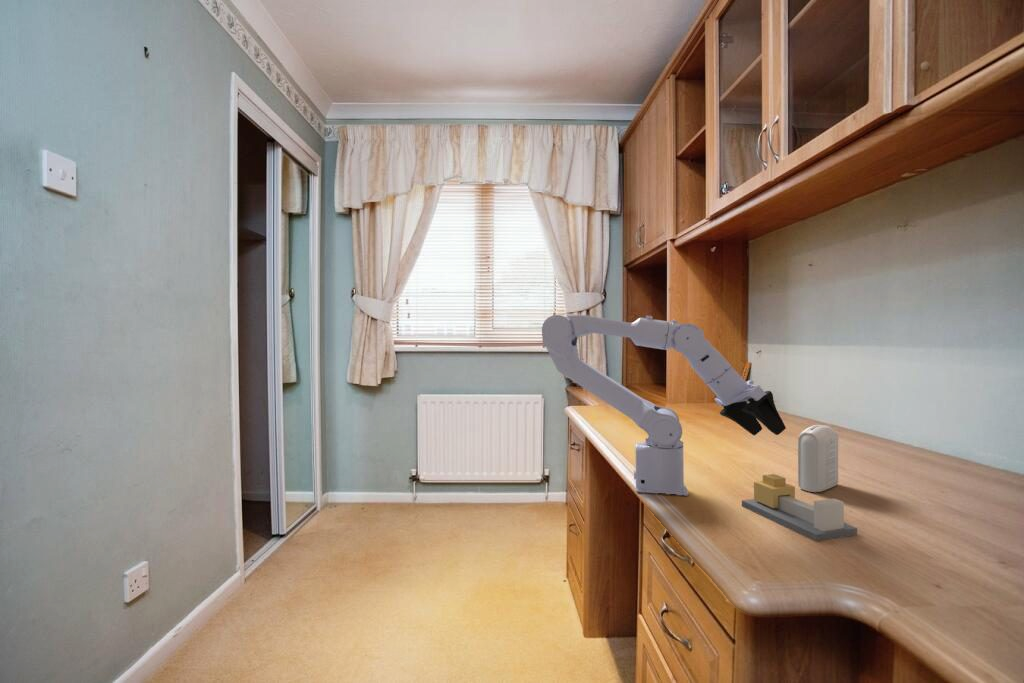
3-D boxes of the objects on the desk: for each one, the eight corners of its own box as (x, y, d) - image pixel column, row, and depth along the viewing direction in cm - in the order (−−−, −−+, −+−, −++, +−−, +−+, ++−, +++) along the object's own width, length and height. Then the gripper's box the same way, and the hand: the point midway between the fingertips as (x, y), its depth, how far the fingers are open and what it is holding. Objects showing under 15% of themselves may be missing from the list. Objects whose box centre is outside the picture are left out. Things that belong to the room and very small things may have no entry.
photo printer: (817, 479, 91) (817, 420, 91) (841, 484, 87) (841, 424, 87) (794, 488, 85) (794, 426, 85) (819, 495, 81) (819, 430, 81)
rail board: (741, 506, 77) (741, 478, 77) (777, 501, 79) (777, 474, 79) (816, 541, 63) (816, 507, 63) (857, 534, 65) (856, 501, 65)
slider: (754, 499, 76) (753, 474, 76) (774, 497, 77) (774, 472, 77) (773, 508, 72) (773, 481, 72) (794, 505, 73) (794, 479, 73)
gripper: (753, 355, 76) (809, 416, 74) (716, 368, 90) (763, 420, 88) (724, 379, 75) (780, 442, 73) (692, 388, 89) (738, 441, 87)
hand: (769, 431), depth 80 cm, fingers open, 7 cm apart
